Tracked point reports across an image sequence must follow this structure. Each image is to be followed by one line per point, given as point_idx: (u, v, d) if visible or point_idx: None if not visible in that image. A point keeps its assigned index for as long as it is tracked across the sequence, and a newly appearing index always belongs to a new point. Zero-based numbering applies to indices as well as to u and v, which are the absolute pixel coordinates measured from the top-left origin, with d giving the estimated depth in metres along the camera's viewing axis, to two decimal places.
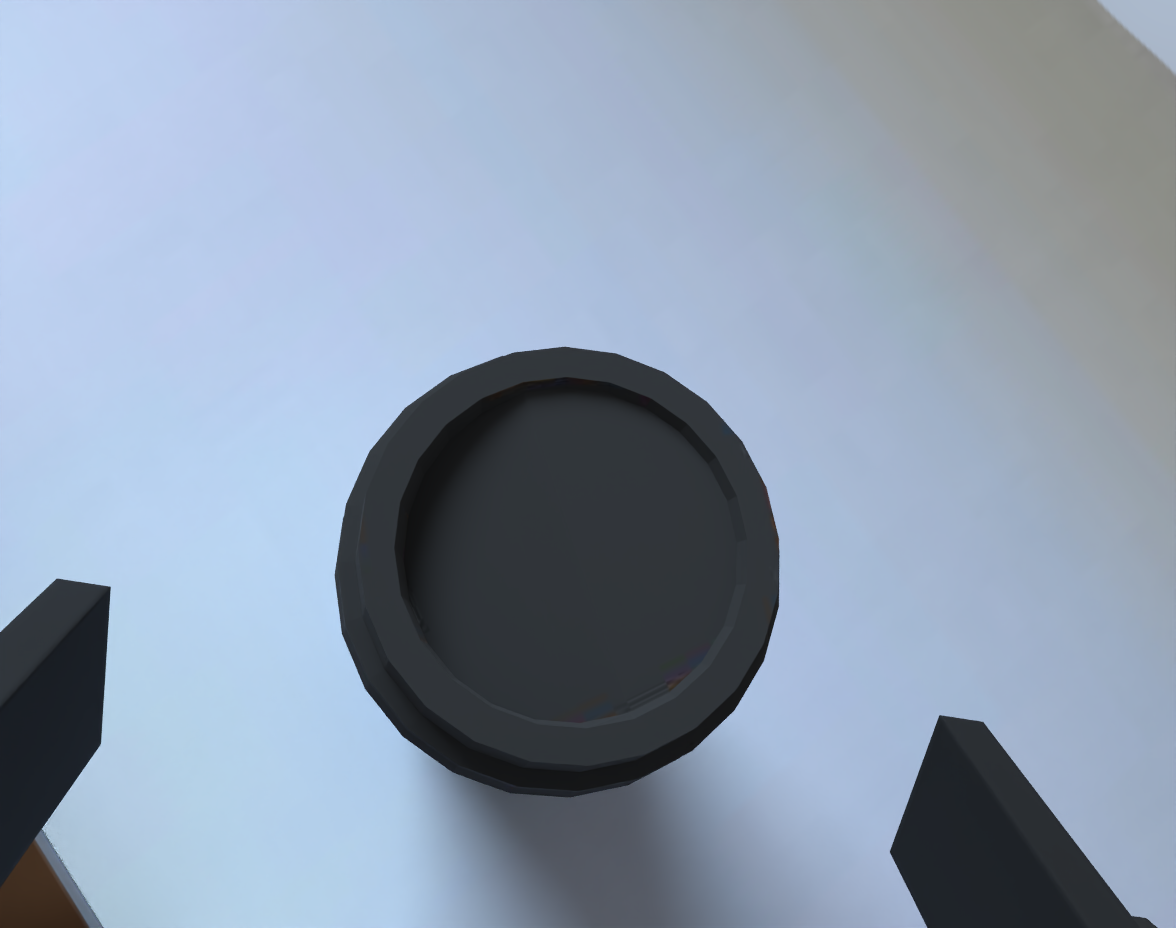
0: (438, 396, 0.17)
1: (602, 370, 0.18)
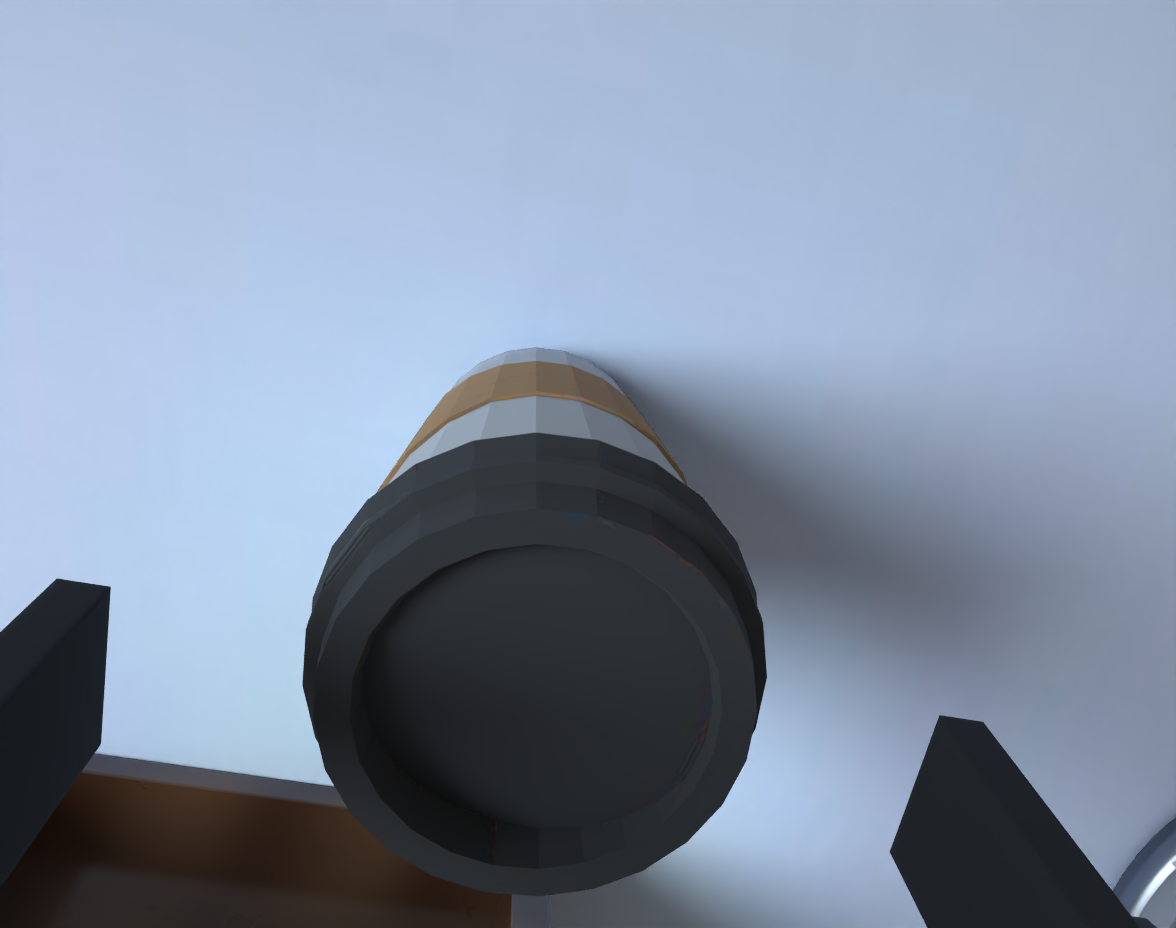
0: (320, 704, 0.16)
1: (421, 565, 0.15)
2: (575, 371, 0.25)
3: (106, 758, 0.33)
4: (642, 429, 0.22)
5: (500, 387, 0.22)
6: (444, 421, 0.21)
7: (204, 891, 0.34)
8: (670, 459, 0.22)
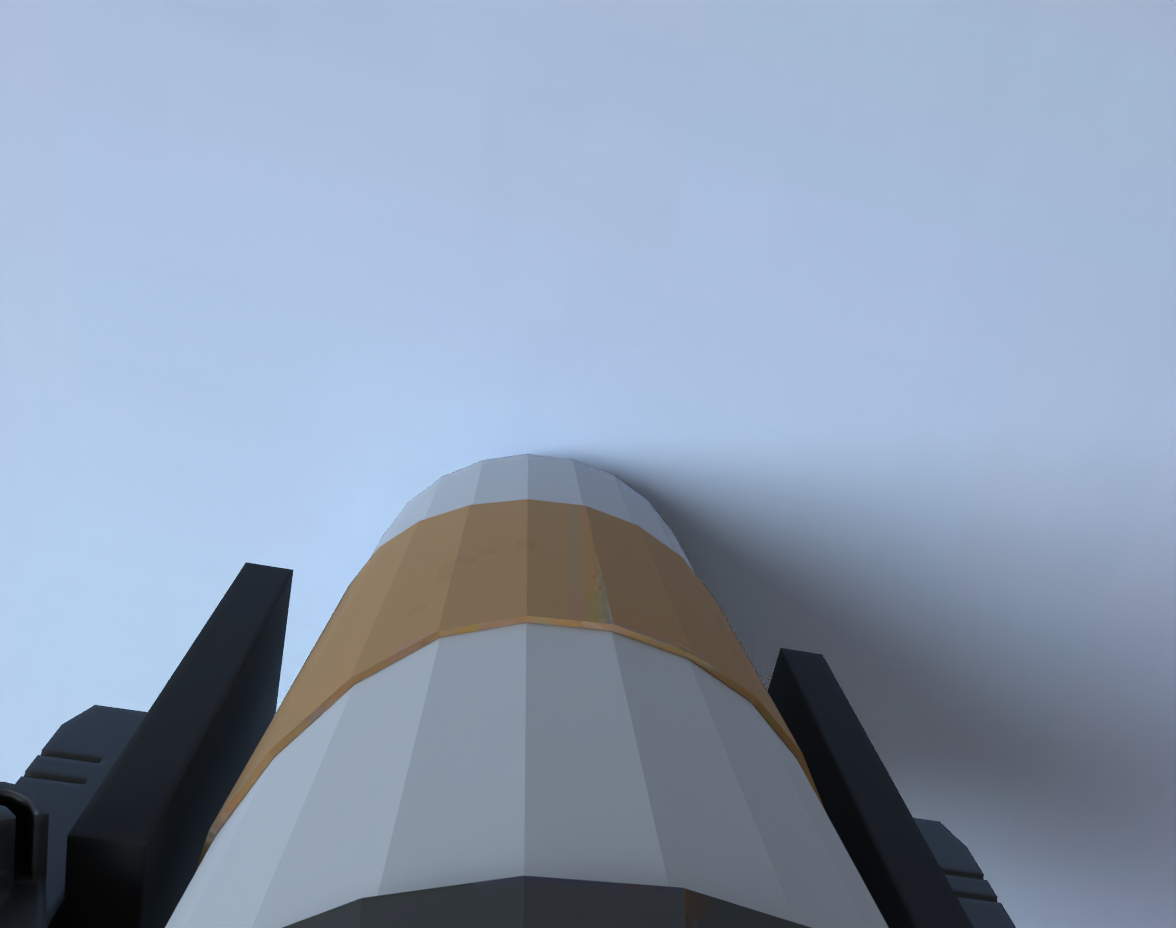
0: None
1: None
2: (595, 524, 0.15)
3: None
4: (730, 679, 0.11)
5: (460, 589, 0.12)
6: (343, 684, 0.11)
7: None
8: (780, 730, 0.12)
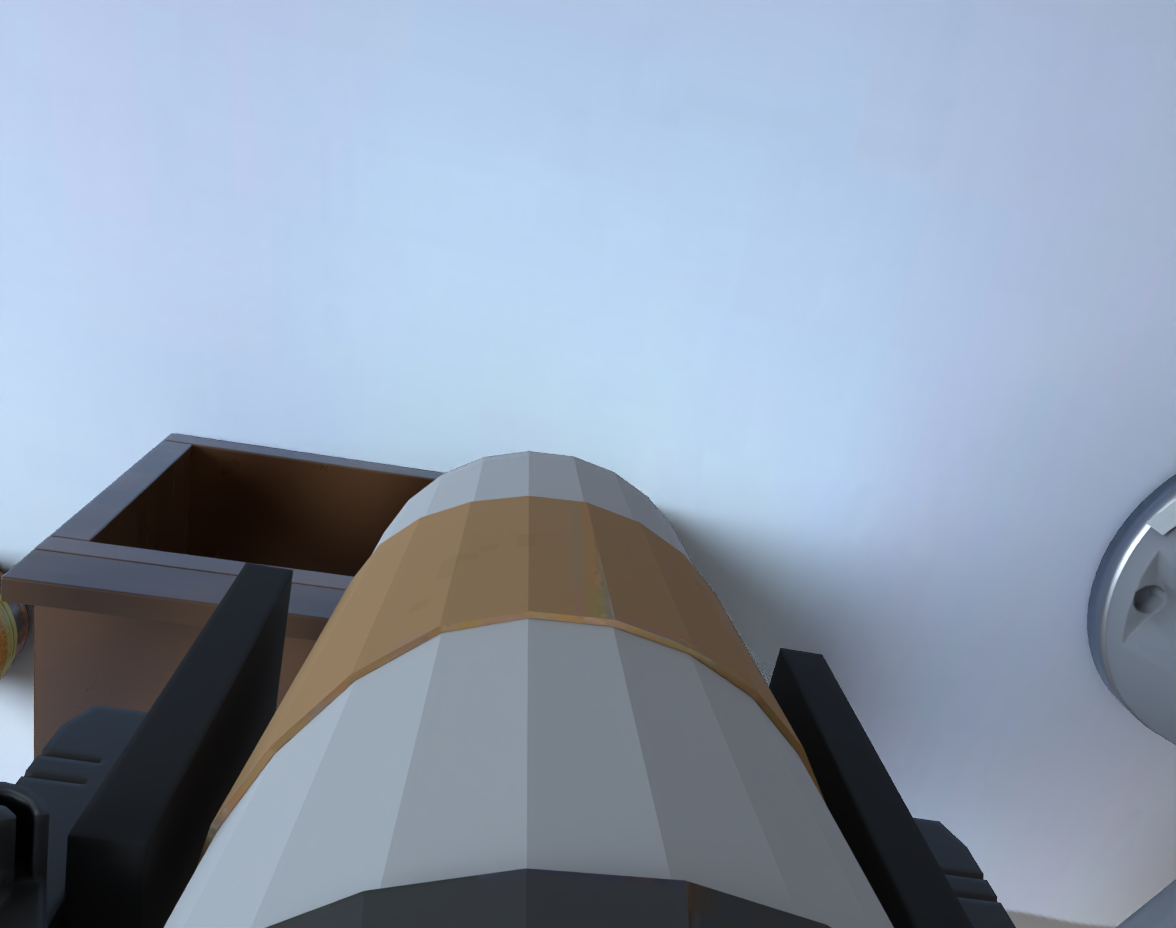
0: None
1: None
2: (596, 521, 0.15)
3: (293, 451, 0.41)
4: (731, 675, 0.11)
5: (462, 585, 0.12)
6: (345, 678, 0.11)
7: None
8: (782, 725, 0.12)
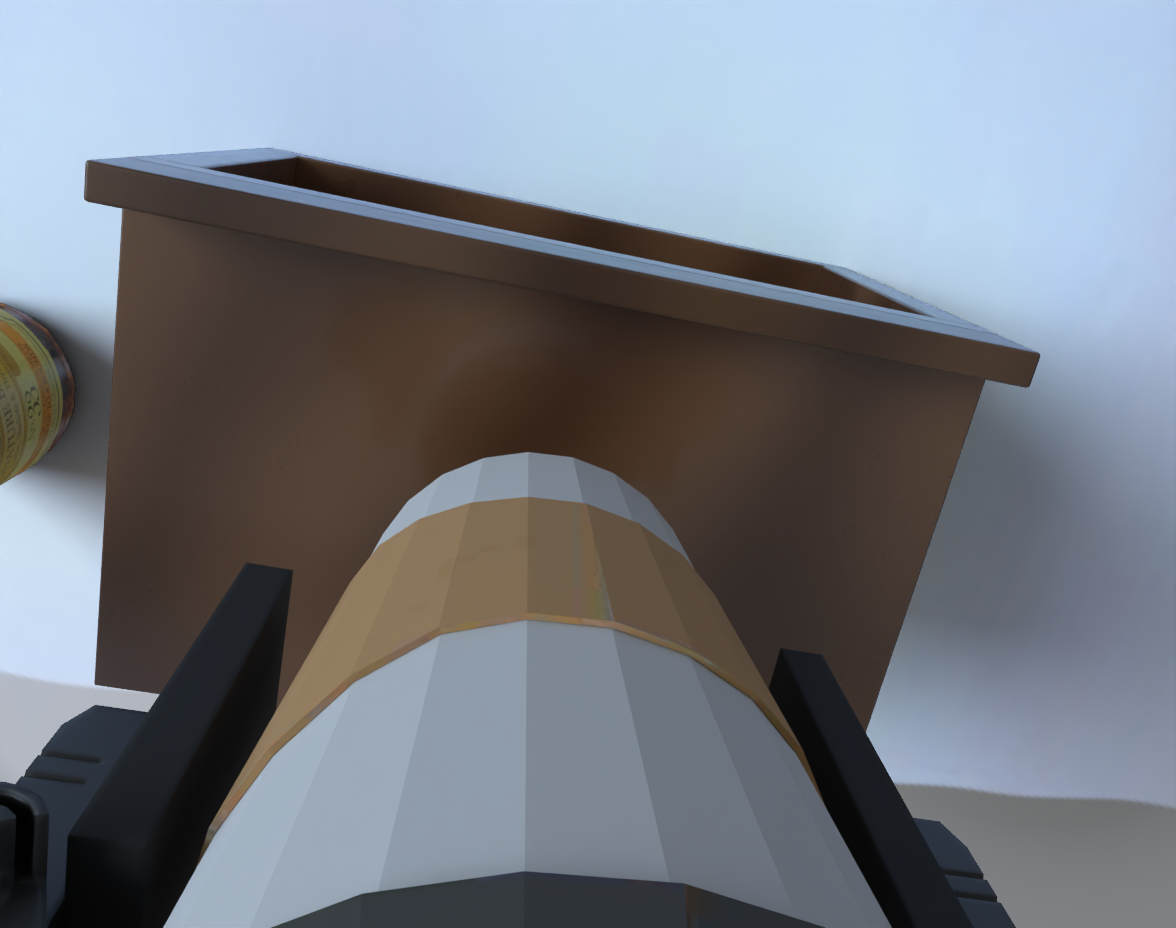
0: None
1: None
2: (595, 522, 0.15)
3: (420, 179, 0.33)
4: (731, 677, 0.11)
5: (460, 586, 0.12)
6: (345, 680, 0.11)
7: None
8: (781, 727, 0.12)
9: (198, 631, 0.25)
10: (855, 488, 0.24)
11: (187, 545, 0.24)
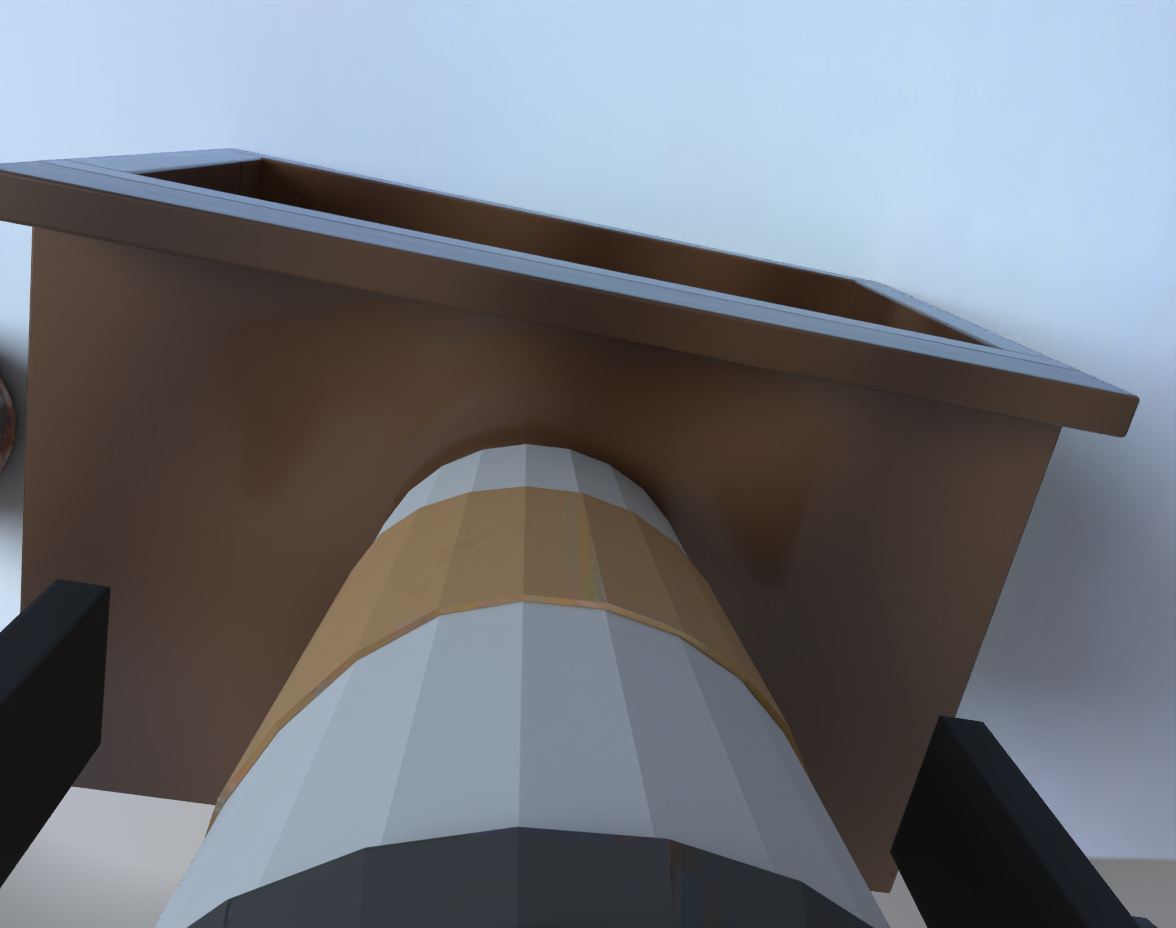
0: None
1: None
2: (591, 510, 0.15)
3: (402, 184, 0.29)
4: (720, 657, 0.12)
5: (459, 570, 0.12)
6: (347, 658, 0.11)
7: None
8: (769, 706, 0.12)
9: (136, 717, 0.21)
10: (908, 549, 0.21)
11: (120, 619, 0.20)
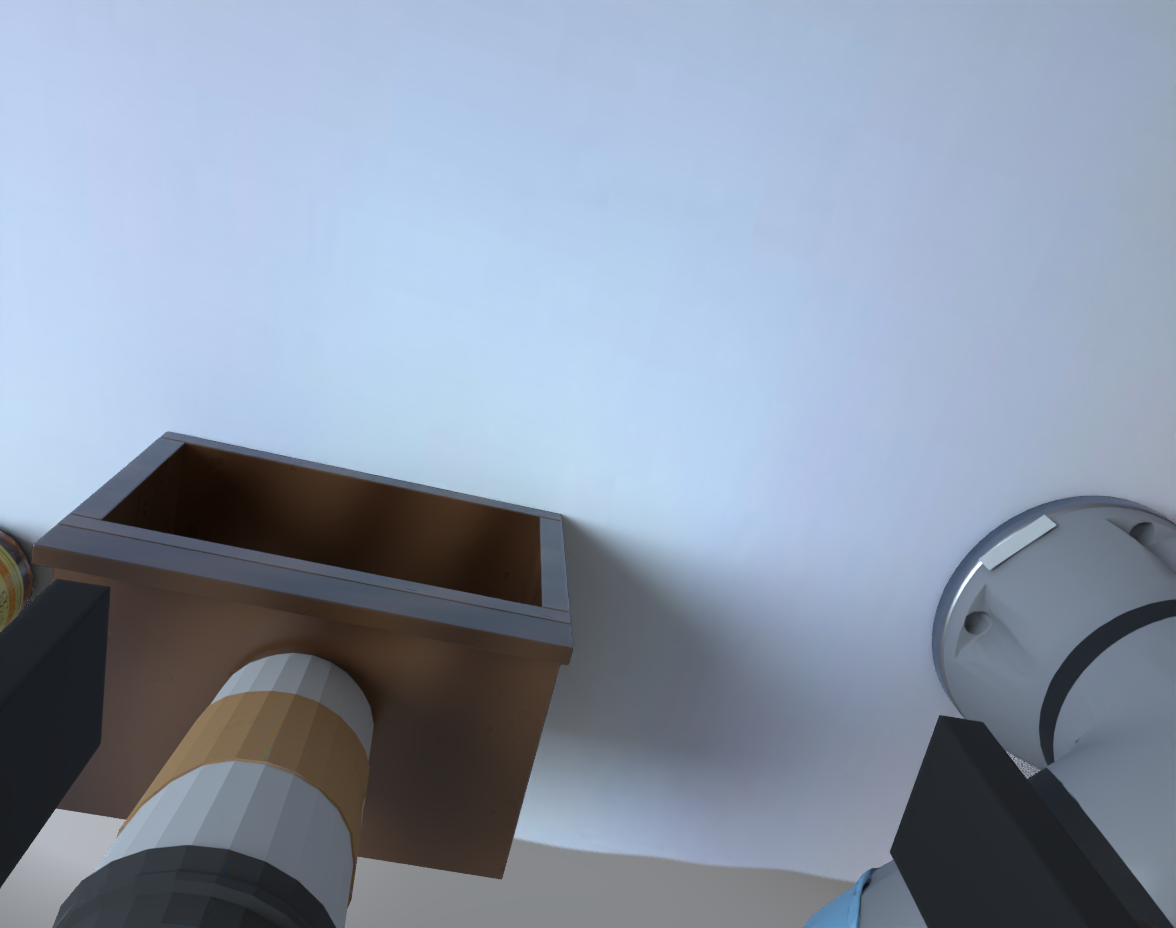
0: None
1: None
2: (292, 706, 0.35)
3: (269, 453, 0.49)
4: (310, 781, 0.32)
5: (219, 743, 0.33)
6: (168, 780, 0.31)
7: (329, 550, 0.50)
8: (331, 799, 0.32)
9: (96, 775, 0.41)
10: (492, 704, 0.41)
11: None
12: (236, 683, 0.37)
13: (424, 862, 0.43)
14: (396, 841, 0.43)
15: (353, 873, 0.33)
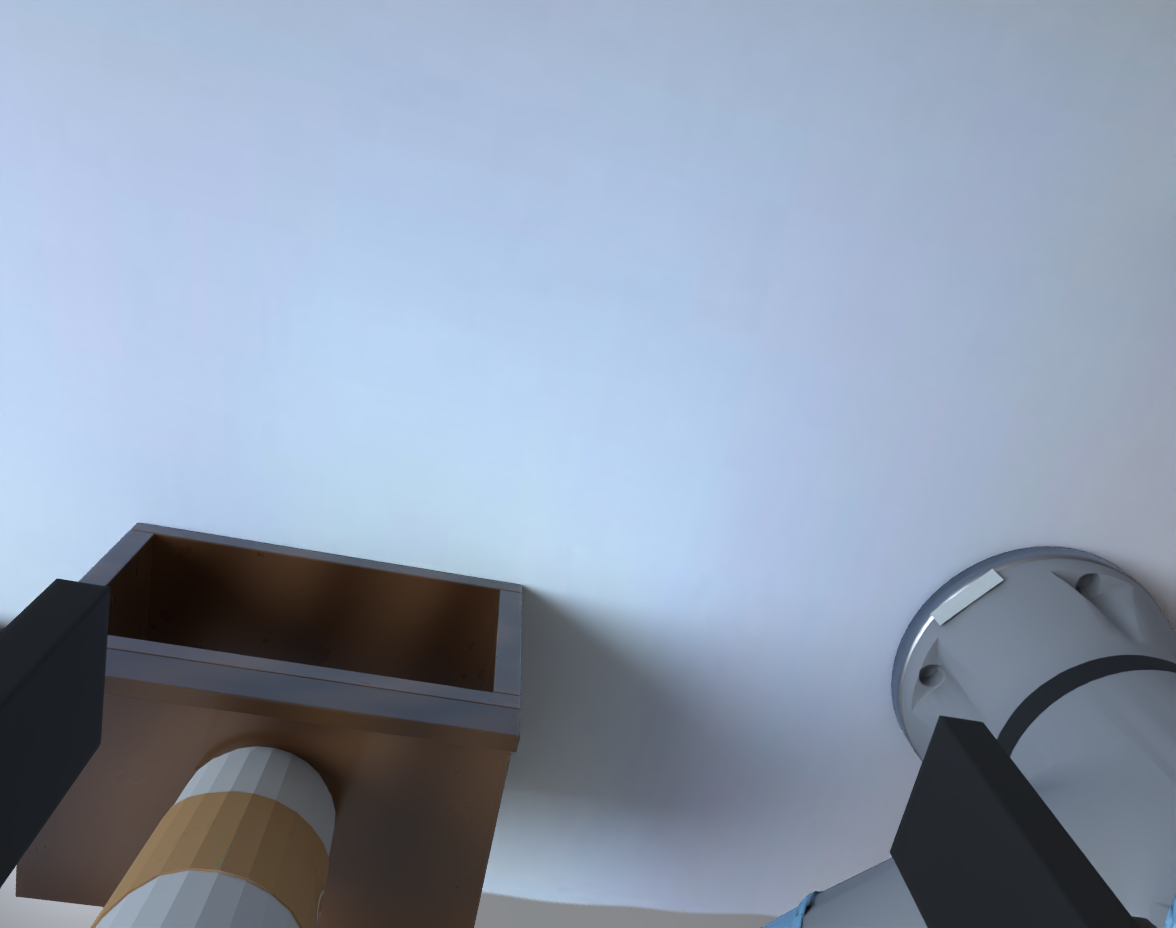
0: None
1: None
2: (249, 807, 0.37)
3: (236, 539, 0.51)
4: (262, 886, 0.34)
5: (175, 851, 0.34)
6: (126, 892, 0.33)
7: (298, 629, 0.52)
8: (283, 902, 0.34)
9: (74, 867, 0.43)
10: (449, 787, 0.43)
11: (66, 823, 0.42)
12: (198, 782, 0.39)
13: None
14: (365, 918, 0.45)
15: None
